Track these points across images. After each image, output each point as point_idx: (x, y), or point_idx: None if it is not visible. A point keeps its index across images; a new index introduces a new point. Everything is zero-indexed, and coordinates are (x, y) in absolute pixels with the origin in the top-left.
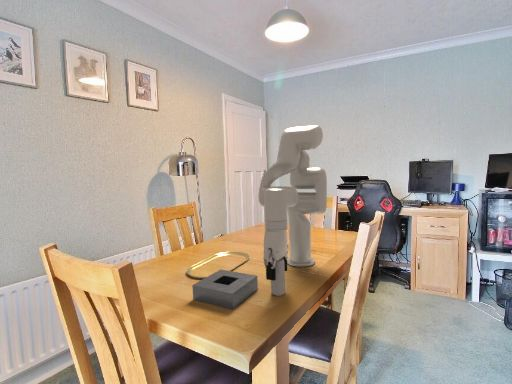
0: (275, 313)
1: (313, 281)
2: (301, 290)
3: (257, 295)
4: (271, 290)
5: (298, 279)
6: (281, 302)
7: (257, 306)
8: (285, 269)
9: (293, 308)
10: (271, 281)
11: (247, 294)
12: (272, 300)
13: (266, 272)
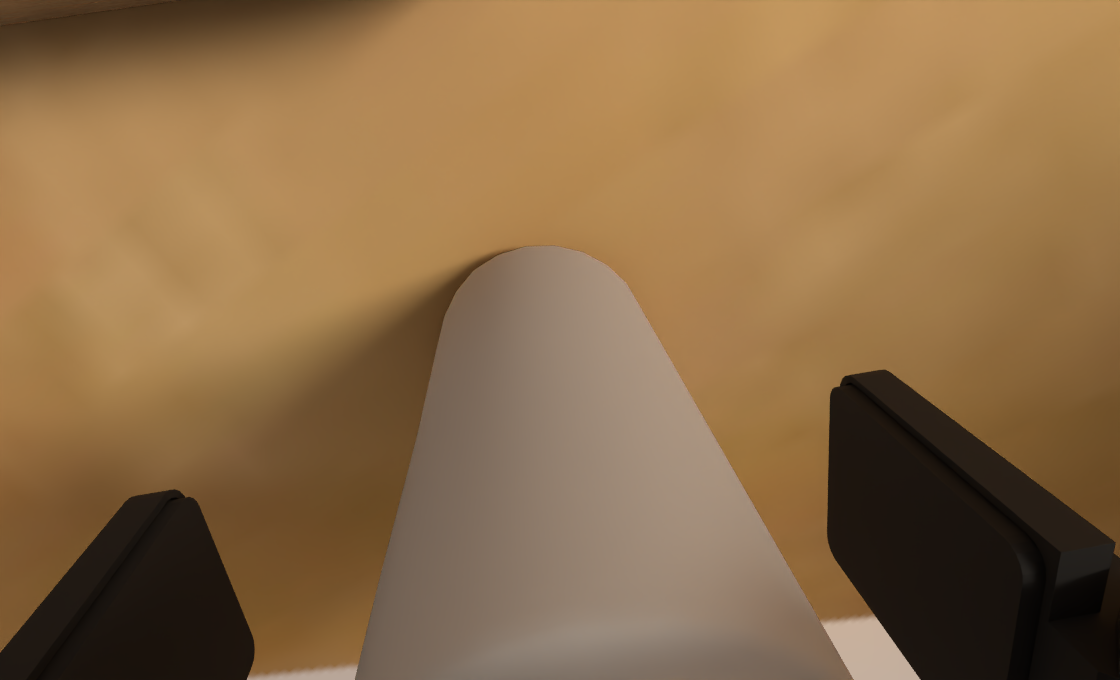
0: None
1: (1081, 508)
2: (765, 520)
3: (287, 111)
4: (463, 289)
5: (1103, 325)
6: (342, 502)
7: (29, 329)
8: (843, 555)
9: (314, 655)
10: (442, 365)
11: (70, 8)
12: (311, 391)
13: (42, 621)
